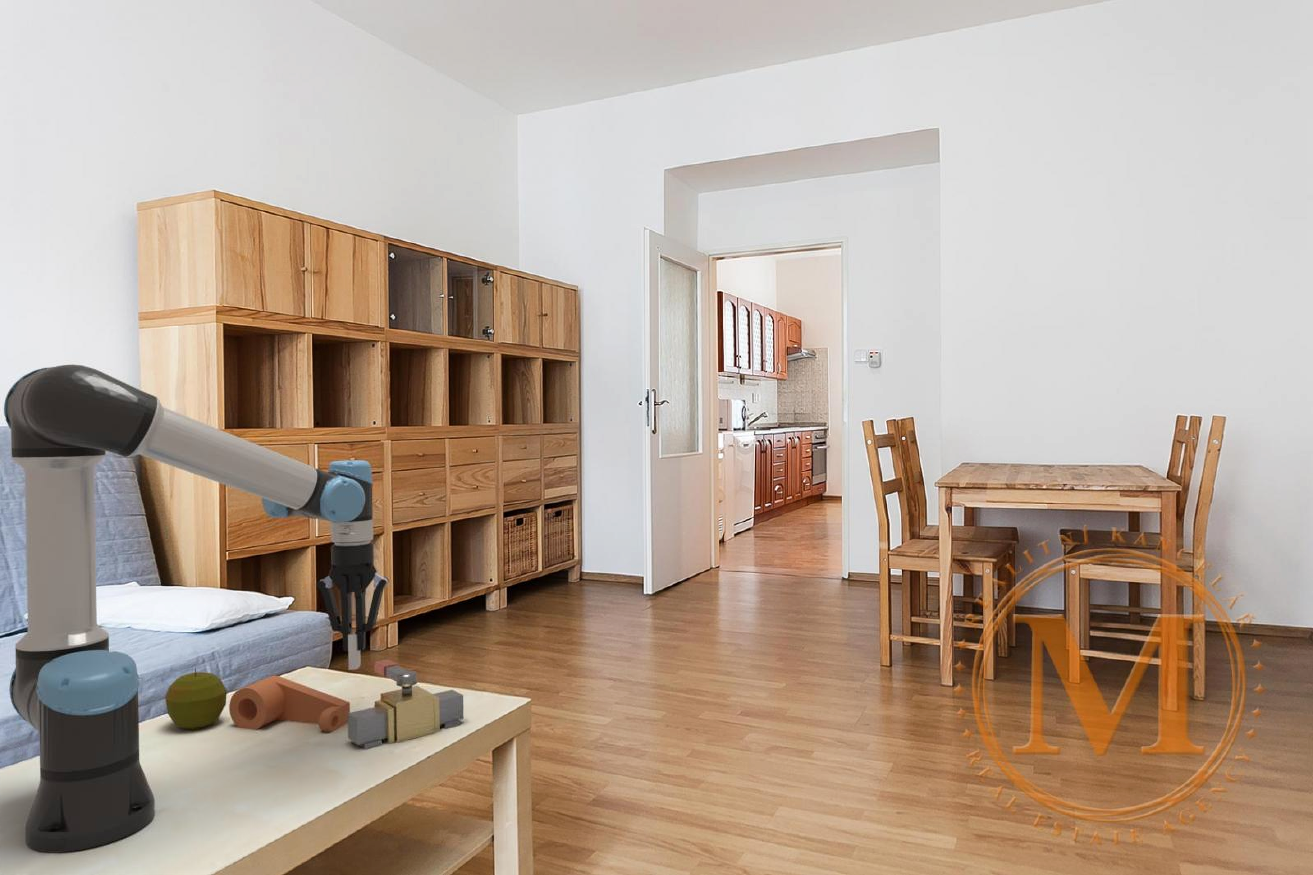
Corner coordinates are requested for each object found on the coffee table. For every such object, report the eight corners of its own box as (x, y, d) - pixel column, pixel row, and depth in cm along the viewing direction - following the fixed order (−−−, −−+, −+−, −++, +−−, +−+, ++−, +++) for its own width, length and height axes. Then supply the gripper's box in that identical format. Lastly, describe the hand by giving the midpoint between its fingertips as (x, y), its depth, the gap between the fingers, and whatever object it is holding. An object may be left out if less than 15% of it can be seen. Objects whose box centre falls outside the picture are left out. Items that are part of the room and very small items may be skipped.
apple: (238, 719, 166) (237, 662, 166) (200, 737, 157) (199, 676, 156) (193, 716, 168) (192, 659, 168) (153, 733, 159) (152, 673, 159)
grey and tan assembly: (360, 751, 149) (359, 702, 149) (345, 740, 154) (344, 692, 154) (466, 724, 162) (466, 679, 161) (449, 715, 167) (448, 671, 167)
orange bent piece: (229, 729, 161) (228, 686, 161) (259, 715, 169) (258, 674, 169) (323, 738, 156) (322, 694, 156) (350, 723, 164) (349, 681, 164)
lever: (420, 684, 158) (420, 673, 158) (401, 688, 155) (401, 677, 155) (390, 668, 168) (390, 658, 168) (372, 672, 165) (372, 662, 165)
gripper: (310, 546, 160) (312, 674, 160) (382, 544, 161) (385, 672, 161) (323, 540, 167) (325, 663, 168) (392, 539, 168) (394, 660, 169)
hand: (354, 667), depth 164 cm, fingers closed
